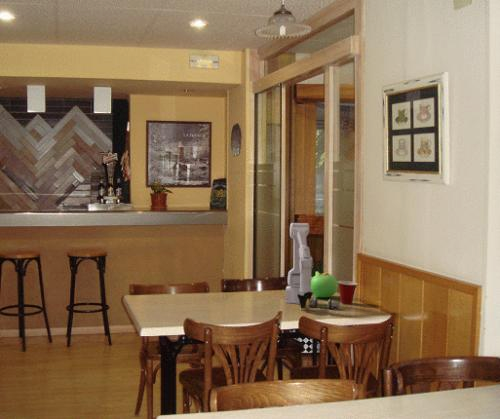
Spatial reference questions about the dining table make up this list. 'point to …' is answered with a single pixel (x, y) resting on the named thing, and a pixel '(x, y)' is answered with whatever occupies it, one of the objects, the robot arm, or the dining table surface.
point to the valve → (306, 306)
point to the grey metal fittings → (331, 304)
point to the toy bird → (323, 285)
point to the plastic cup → (347, 291)
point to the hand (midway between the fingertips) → (304, 307)
